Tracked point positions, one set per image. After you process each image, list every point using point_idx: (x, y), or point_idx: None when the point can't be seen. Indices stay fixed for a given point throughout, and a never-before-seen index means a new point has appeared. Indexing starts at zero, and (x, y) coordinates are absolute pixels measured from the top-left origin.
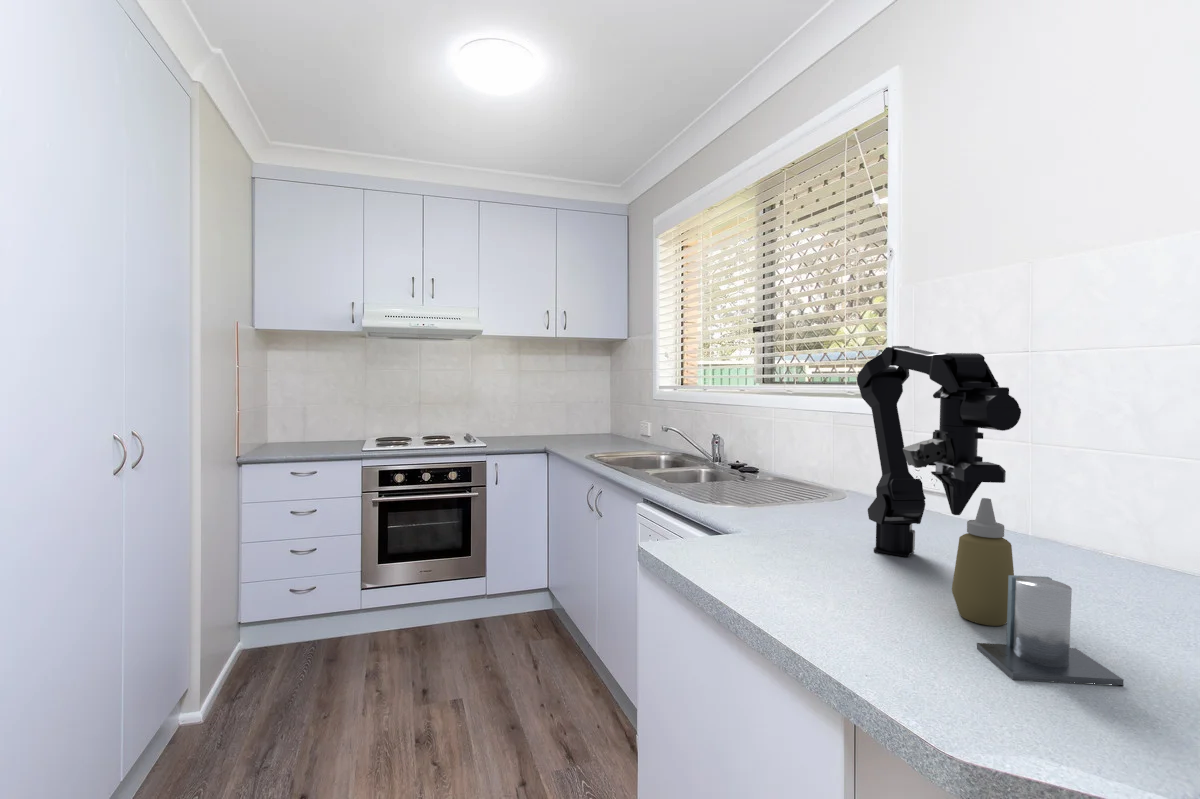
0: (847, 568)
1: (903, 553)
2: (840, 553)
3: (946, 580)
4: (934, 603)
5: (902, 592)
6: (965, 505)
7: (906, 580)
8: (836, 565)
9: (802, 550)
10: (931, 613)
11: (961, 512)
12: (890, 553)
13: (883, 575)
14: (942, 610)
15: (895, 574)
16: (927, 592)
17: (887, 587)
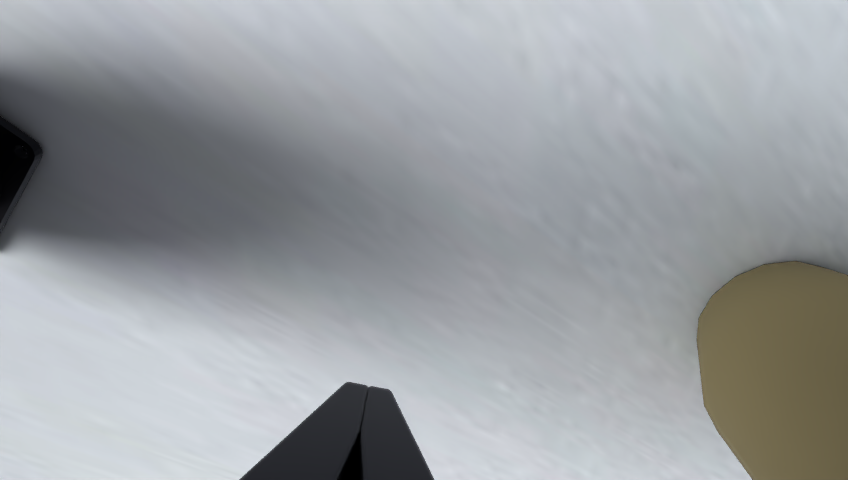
0: (244, 434)
1: (11, 158)
2: (50, 378)
3: (379, 176)
4: (603, 370)
5: (492, 401)
6: (425, 463)
7: (374, 327)
8: (213, 449)
9: (47, 471)
10: (672, 421)
11: (398, 406)
12: (11, 206)
13: (317, 369)
14: (662, 382)
15: (303, 326)
16: (504, 331)
17: (441, 417)
